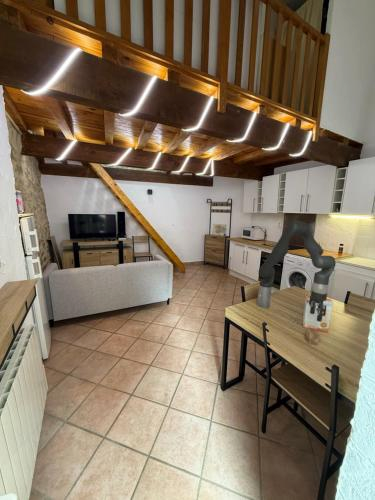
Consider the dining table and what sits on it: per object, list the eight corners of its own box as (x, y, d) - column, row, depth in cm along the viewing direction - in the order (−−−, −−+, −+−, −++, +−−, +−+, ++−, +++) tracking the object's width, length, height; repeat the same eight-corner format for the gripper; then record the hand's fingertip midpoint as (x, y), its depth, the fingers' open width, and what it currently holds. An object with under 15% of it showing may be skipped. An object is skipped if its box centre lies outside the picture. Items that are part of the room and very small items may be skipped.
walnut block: (308, 344, 116) (310, 333, 115) (304, 339, 121) (306, 328, 120) (317, 345, 115) (319, 334, 114) (313, 340, 120) (315, 329, 119)
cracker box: (325, 328, 134) (330, 298, 130) (328, 332, 128) (333, 302, 124) (301, 323, 139) (306, 294, 135) (303, 327, 133) (307, 298, 129)
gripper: (306, 285, 120) (303, 310, 123) (318, 295, 106) (314, 323, 109) (320, 286, 119) (316, 312, 122) (333, 296, 105) (329, 324, 108)
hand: (315, 317), depth 115 cm, fingers open, 8 cm apart
